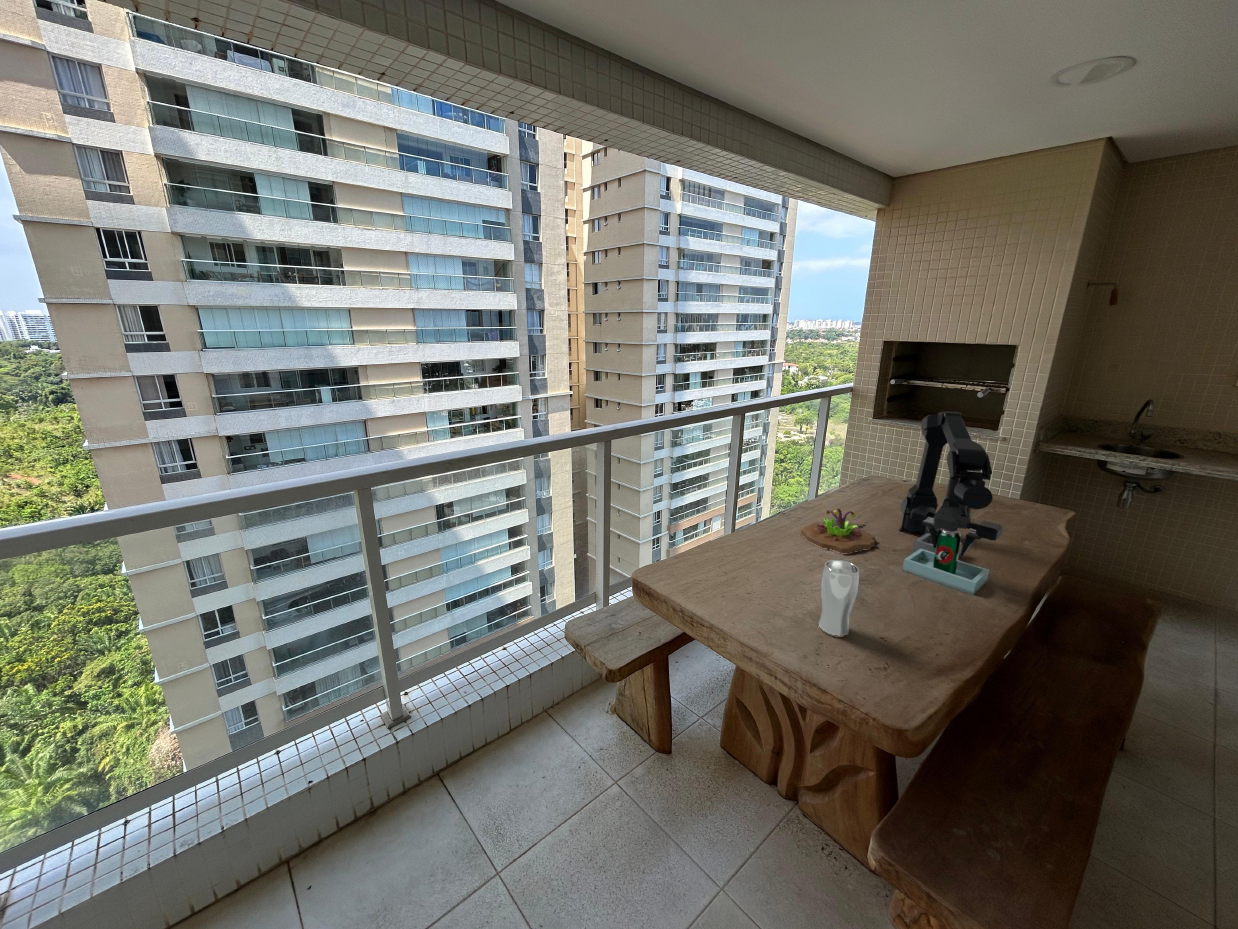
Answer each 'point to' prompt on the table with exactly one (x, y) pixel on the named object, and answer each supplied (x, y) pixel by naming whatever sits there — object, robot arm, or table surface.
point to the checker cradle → (927, 544)
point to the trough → (964, 579)
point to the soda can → (947, 550)
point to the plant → (838, 534)
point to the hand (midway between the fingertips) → (948, 551)
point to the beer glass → (838, 596)
